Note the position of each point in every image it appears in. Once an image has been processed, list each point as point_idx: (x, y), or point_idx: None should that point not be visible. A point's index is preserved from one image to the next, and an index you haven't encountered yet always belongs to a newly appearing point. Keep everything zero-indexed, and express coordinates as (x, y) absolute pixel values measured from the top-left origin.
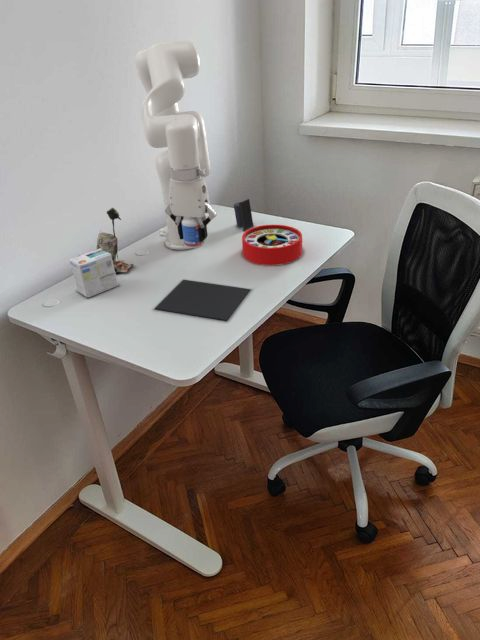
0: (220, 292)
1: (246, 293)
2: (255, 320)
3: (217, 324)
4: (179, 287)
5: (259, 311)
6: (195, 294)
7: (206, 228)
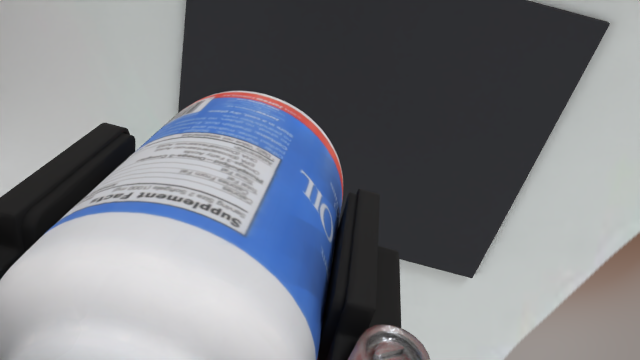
0: (435, 67)
1: (581, 74)
2: (589, 274)
3: (436, 289)
4: (205, 16)
5: (620, 217)
6: (308, 89)
7: (396, 324)
